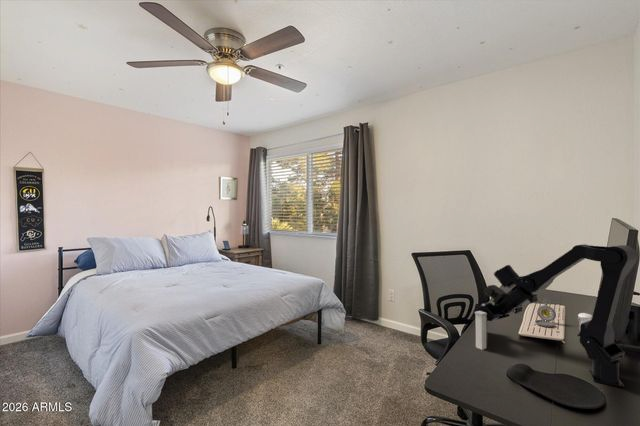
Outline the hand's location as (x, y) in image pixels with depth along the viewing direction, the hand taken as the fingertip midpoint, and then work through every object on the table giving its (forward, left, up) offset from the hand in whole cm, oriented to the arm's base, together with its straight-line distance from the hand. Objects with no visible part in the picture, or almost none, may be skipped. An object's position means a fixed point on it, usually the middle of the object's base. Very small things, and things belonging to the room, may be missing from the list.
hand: (486, 319), depth 122 cm
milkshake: (+16, -34, -6) cm, 38 cm away
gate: (-4, +1, -6) cm, 7 cm away
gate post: (-13, +2, -6) cm, 15 cm away
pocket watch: (+25, -22, -7) cm, 34 cm away
